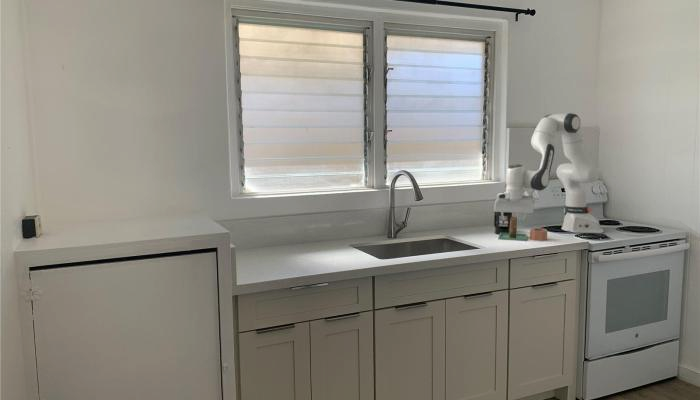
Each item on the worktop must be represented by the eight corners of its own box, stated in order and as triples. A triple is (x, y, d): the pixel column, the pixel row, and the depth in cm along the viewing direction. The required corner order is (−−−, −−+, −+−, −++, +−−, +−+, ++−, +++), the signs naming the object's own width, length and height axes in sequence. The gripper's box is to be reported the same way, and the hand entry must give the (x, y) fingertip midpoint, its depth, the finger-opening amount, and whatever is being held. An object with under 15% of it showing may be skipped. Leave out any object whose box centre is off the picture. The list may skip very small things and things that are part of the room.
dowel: (516, 237, 287) (517, 217, 286) (516, 238, 284) (516, 218, 282) (509, 236, 288) (510, 216, 287) (509, 238, 285) (509, 217, 284)
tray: (526, 237, 290) (527, 234, 290) (525, 242, 277) (526, 239, 277) (500, 236, 295) (500, 232, 295) (498, 241, 282) (498, 237, 282)
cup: (546, 239, 284) (547, 228, 283) (546, 243, 276) (547, 231, 276) (530, 238, 287) (530, 227, 286) (529, 242, 279) (530, 230, 278)
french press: (516, 234, 301) (517, 193, 298) (504, 235, 296) (505, 194, 293) (500, 230, 311) (502, 191, 308) (488, 232, 307) (490, 192, 304)
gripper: (535, 195, 283) (534, 220, 284) (495, 193, 289) (494, 219, 291) (534, 196, 277) (533, 222, 278) (494, 195, 284) (493, 220, 285)
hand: (513, 220), depth 285 cm, fingers open, 8 cm apart
